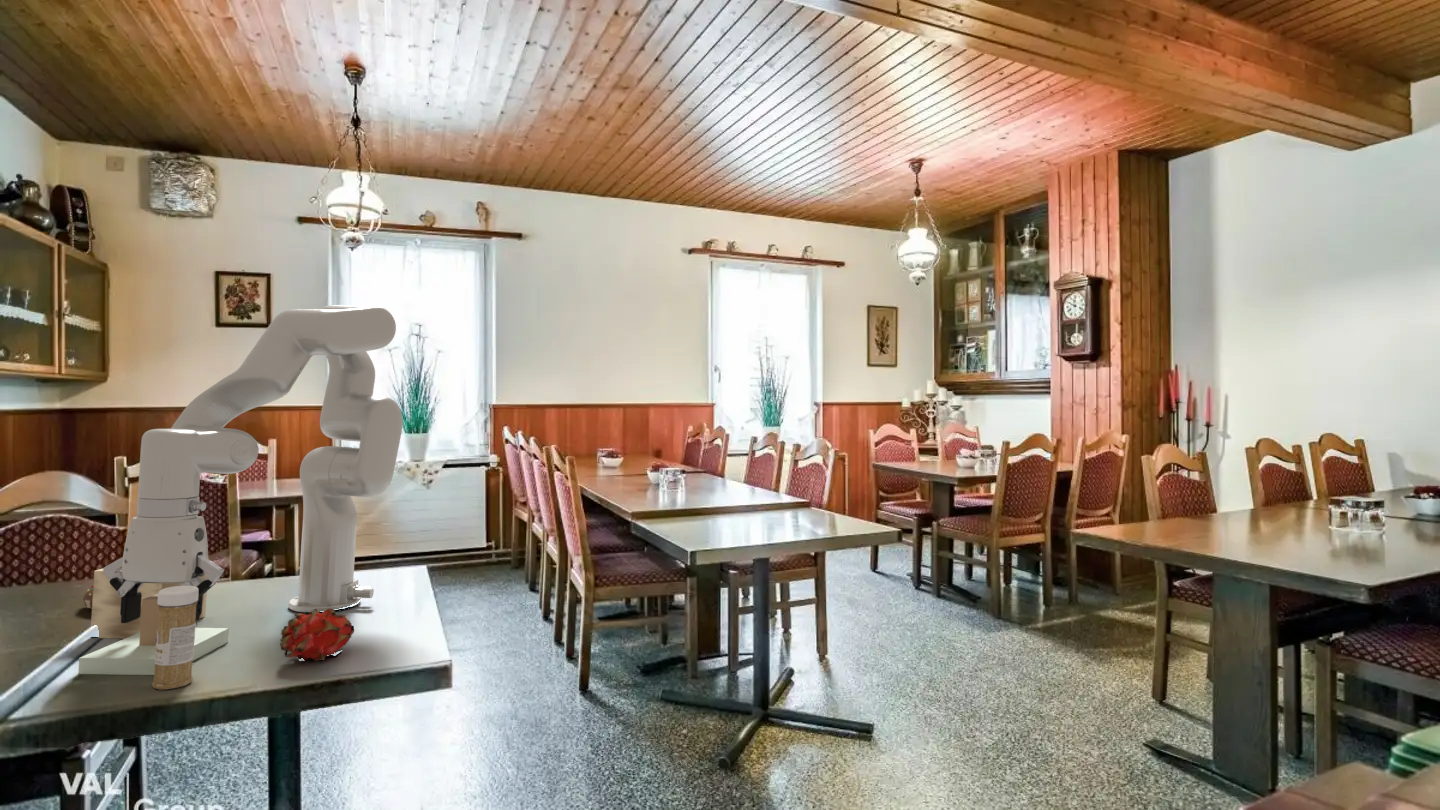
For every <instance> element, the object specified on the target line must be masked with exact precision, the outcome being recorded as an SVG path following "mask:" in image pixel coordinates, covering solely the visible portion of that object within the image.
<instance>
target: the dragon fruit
mask: <svg viewBox="0 0 1440 810" xmlns="http://www.w3.org/2000/svg"><path fill="white" fill-rule="evenodd" d="M354 633H355V626H354V625H352V622H351V621H350V620H349V619H348V618H347V617H346V615H345V614H337V613H336V611H334V610H333V609H332V608H329V609H327V610H326V611H324V612H322V613H319V612H318V610H317V609H315V610H313V611H312V612H309V613H306V614H305V613H303V612H298V613H296V614H294V619H293V618H292V619H289V620H288V622H287V625H284V626H283V628H282V629H281V633H280V634H281V636H282V637H281V639H279V641H280V644H279V646H280V650H281V651H284V657H285V658H288V659H289V658H290V659H291V658H297V657H298V658H297V660H298V659H301V658H303V659H304V660H306V659H307V658H308V659H312V660H313V659H314V660H313V661H315V660H316V661H320V659H321V660H323V659H324V660H325V659H326V657H325V656H327V655H331V654H334V652H336V651H340V650H341V649H342V648H343V647H344V646H345V645H347V643H348V642H349V640H350V639H351V638H352V636H353V634H354ZM288 652H290V653H288ZM327 657H328V656H327ZM308 659H307V660H308ZM307 660H306V661H307ZM324 660H323V661H324Z"/></svg>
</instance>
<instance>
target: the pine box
mask: <svg viewBox="0 0 1440 810" xmlns="http://www.w3.org/2000/svg"><path fill="white" fill-rule="evenodd" d="M208 559H209V560H210V556H208ZM103 568H104V567H103ZM103 568H100V569H96V570H94V574H93V585H92V586H93V601H92V610H91V618H90V619H91V620H90V627H91V626H94V625H97V626H98V630H99V637H98V638H97V639H125V638H128V637H130V636H132V635H135V634H137V633H139V632H140V627H141V613H140V617H139V618H138V619H136V620H133V621H130V622H128V623H121V615H120V609H121V597H119V596H118V595H117V591H116V590H115V589H114V588H113V587H112V586H111V585H110V580H109V579H108V578H107V576H106V575H105V573H104V572H103ZM120 572H121V575H122V568H121V570H120ZM207 575H208V574H207V573H206V575H205V576H203V577H200V579H201V580H202V582H203V581H204V580H205V579H206V577H207ZM122 576H123V575H122ZM174 586H181V584H163V583H143V584H142V586H141V587H140V588H139V589H138V591H137V592H141V594H142V598H141V611H142V599H144V598H147V597H150V596H153V595H155V594H158V592H159V591H160V590H162V589H164V588H168V587H174ZM207 594H208V591H207V592H206V593H205V594H203V599H202V613H201V615H200V618H199V620H200V619H203V618H205V617H206V609H207Z"/></svg>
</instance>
